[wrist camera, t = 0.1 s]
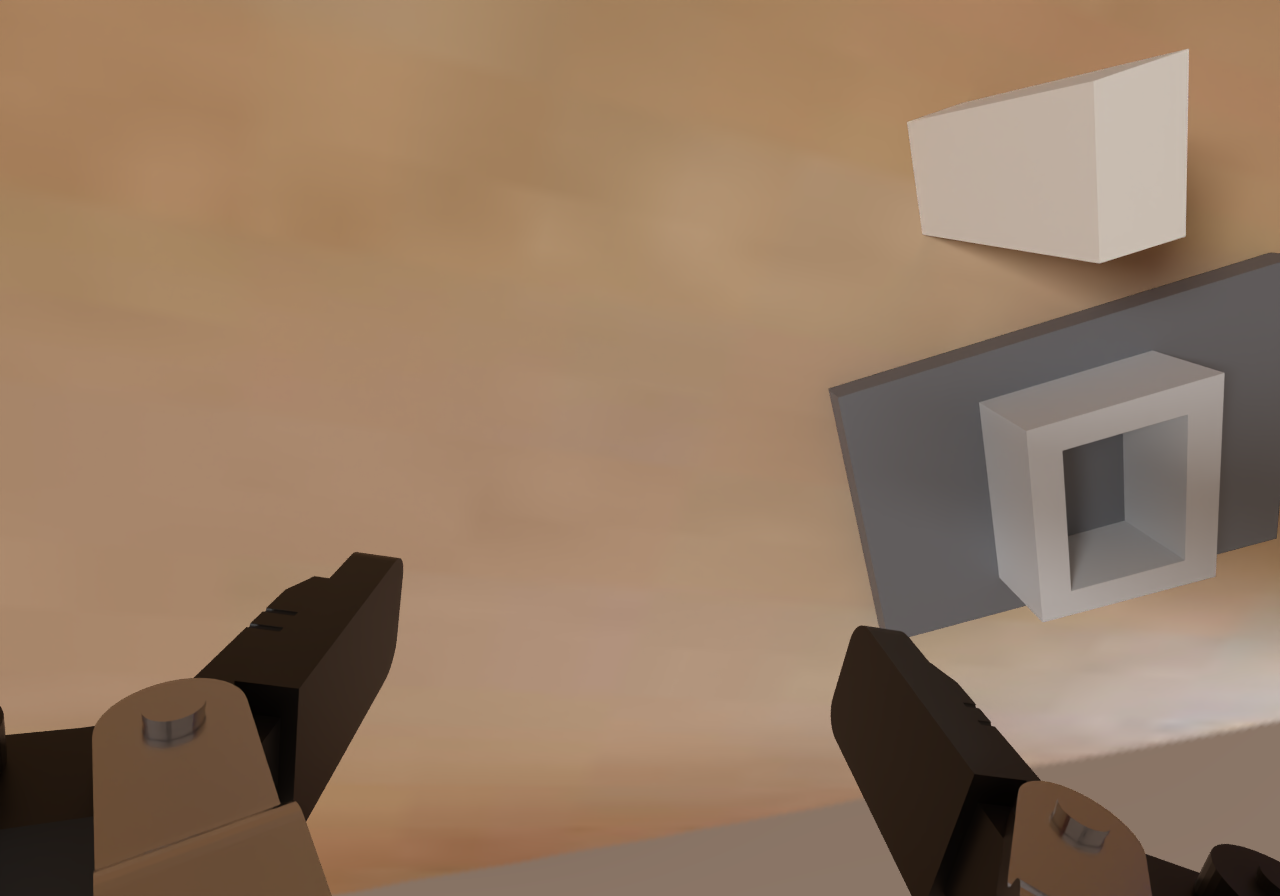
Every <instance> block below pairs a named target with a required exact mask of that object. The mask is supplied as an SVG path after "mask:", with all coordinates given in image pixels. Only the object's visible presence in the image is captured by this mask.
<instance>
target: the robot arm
mask: <svg viewBox="0 0 1280 896" xmlns="http://www.w3.org/2000/svg"><path fill="white" fill-rule="evenodd" d="M402 579H403V562H402V560H401V559H400V558H394V557H387V556H380V555H373V554H366V553H359V552H355V553H353V554H352V555H351V556H350V557H349V558H348V559H347V560H346V561H345V562H344V563H343V565H342V566H341V567H340V568H339V569H338V570H337V571H336V572H335V573H334V574H333V575H332V576H331V577H330V578H323V577H316V576H314V577H312V578H310V579H308V580H305V581H303V582H301V583H299V584H297V585H295V586H292V587H290V588H288V589H286V590H285V591H284V592H283V593H281V594H280V595H279V596H278V597H277V598H276V599H275V600H274V601H273V602H272V603H271V604H270V605H269V606H268V607H267V608H266V611H265V612H262V613H261V614H260V615H259V616H258V617H257V618H256V619H254V620H253V621H252V622H251V624H250V627H249V628H248V627H246V628H245V629H244V630H243V631H242V632H241V633H240V634H239V635H238V636H237V637H236V638H235V639H234V640H233V641H232V642H231V643H230V644H228V645H227V646H226V647H225V648H224V649H223V650H222V651H221V652H220V653H219V654H218V655H217V656H216V657H215V658H214V659H213V660H212V661H211V662H210V663H209V664H208V665H207V666H206V667H205V668H204V669H203V670H201V671H200V672H199V673H198V674H197V675H196V676H195V677H194V678H188V679H179V680H174V681H168V682H164V683H160V684H157V685H154V686H151V687H148V688H145V689H142V690H140V691H138V692H136V693H133V694H131V695H129V696H128V697H126V698H124V699H122V700H120V701H119V702H118V703H116V704H115V705H113V706H112V707H111V708H110V709H108V710H107V711H106V712H105V713H104V714H103V715H102V716H101V718H100V719H99V720H98V722H97V723H96V725H95V726H92V727H84V728H75V729H65V730H54V731H44V732H33V733H23V734H12V735H5V725H4V713H3V711H2V708H1V707H0V896H332V895H331V892H330V889H329V887H328V884H327V881H326V878H325V875H324V872H323V869H322V866H321V864H320V861H319V858H318V855H317V852H316V849H315V846H314V843H313V841H312V838H311V835H310V832H309V829H308V826H307V823H306V821H307V819H308V817H309V816H310V814H311V812H312V810H313V808H314V807H315V805H316V803H317V801H318V799H319V798H320V796H321V794H322V792H323V790H324V789H325V787H326V785H327V783H328V782H329V780H330V778H331V776H332V774H333V773H334V771H335V769H336V767H337V765H338V764H339V762H340V760H341V758H342V756H343V755H344V753H345V751H346V749H347V748H348V746H349V744H350V742H351V740H352V739H353V737H354V735H355V733H356V731H357V730H358V728H359V726H360V724H361V722H362V721H363V719H364V717H365V715H366V714H367V712H368V710H369V708H370V706H371V705H372V703H373V701H374V699H375V697H376V696H377V694H378V692H379V690H380V688H381V687H382V685H383V683H384V681H385V679H386V677H387V675H388V673H389V670H390V667H391V664H392V661H393V657H394V653H395V648H396V641H397V632H398V621H399V610H400V600H401V589H402ZM975 705H976V704H975V703H974V702H973V701H972V699H971V698H970V697H969V696H968V695H967V694H966V692H965V691H964V690H963V689H962V688H961V686H960V685H959V684H958V683H957V682H956V681H954V680H953V679H951V678H950V677H949V676H947V675H946V674H945V673H943V672H942V671H941V670H939V669H938V668H937V667H935V666H934V665H933V664H931V663H930V662H929V661H928V660H927V659H926V658H925V656H924V655H923V654H922V653H921V652H920V650H919V649H918V648H917V647H916V646H915V644H914V643H913V642H912V641H911V639H910V638H909V637H908V636H907V635H906V634H905V633H904V632H902V631H897V630H890V629H883V628H876V627H869V626H859V627H857V628H856V629H855V631H854V632H853V634H852V636H851V639H850V642H849V646H848V649H847V652H846V656H845V659H844V662H843V666H842V669H841V672H840V676H839V679H838V682H837V686H836V689H835V692H834V696H833V700H832V705H831V725H832V730H833V734H834V737H835V739H836V741H837V743H838V745H839V747H840V750H841V752H842V754H843V756H844V758H845V760H846V762H847V764H848V766H849V768H850V770H851V772H852V774H853V776H854V778H855V780H856V782H857V784H858V786H859V789H860V791H861V793H862V795H863V797H864V799H865V801H866V803H867V805H868V807H869V809H870V811H871V813H872V815H873V817H874V819H875V821H876V823H877V825H878V828H879V830H880V832H881V834H882V835H883V838H884V840H885V842H886V844H887V846H888V848H889V850H890V852H891V854H892V856H893V858H894V860H895V862H896V865H897V867H898V869H899V871H900V873H901V875H902V877H903V879H904V881H905V883H906V885H907V887H908V889H909V891H910V893H911V895H912V896H1280V862H1279V861H1277V860H1275V859H1273V858H1271V857H1268V856H1266V855H1264V854H1261V853H1259V852H1257V851H1254V850H1251V849H1248V848H1245V847H1241V846H1236V845H1230V844H1221V845H1217V846H1215V847H1214V848H1213V849H1212V850H1211V852H1210V854H1209V856H1208V858H1207V860H1206V862H1205V864H1204V866H1203V868H1202V870H1201V872H1200V873H1198V872H1195V871H1192V870H1190V869H1187V868H1184V867H1181V866H1178V865H1175V864H1173V863H1170V862H1167V861H1164V860H1161V859H1158V858H1156V857H1153V856H1150V855H1147V854H1145V852H1144V849H1143V847H1142V845H1141V843H1140V842H1139V841H1138V839H1137V838H1136V836H1135V835H1134V834H1133V833H1132V832H1131V831H1130V829H1129V828H1128V827H1127V826H1126V825H1125V824H1124V823H1122V822H1121V821H1120V820H1119V819H1118V818H1117V817H1116V816H1114V815H1113V814H1112V813H1111V812H1110V811H1108V810H1107V809H1105V808H1104V807H1102V806H1101V805H1099V804H1098V803H1096V802H1095V801H1093V800H1091V799H1090V798H1088V797H1086V796H1084V795H1082V794H1080V793H1078V792H1076V791H1074V790H1072V789H1069V788H1067V787H1064V786H1061V785H1058V784H1055V783H1051V782H1045V781H1041V780H1040V779H1039V778H1038V777H1037V775H1036V774H1035V773H1034V772H1033V771H1032V770H1031V768H1030V767H1029V766H1028V765H1027V764H1026V763H1025V761H1024V760H1023V759H1022V758H1021V757H1020V756H1019V754H1018V753H1017V752H1016V751H1015V750H1014V749H1013V747H1012V746H1011V745H1010V744H1009V743H1008V741H1007V740H1006V739H1005V738H1004V737H1003V736H1002V734H1001V733H1000V732H999V731H998V730H997V729H996V727H993V726H991V722H990V720H989V719H988V718H987V717H986V716H985V715H984V713H983V712H982V711H981V710H980V709H979V708H976V707H975Z"/></svg>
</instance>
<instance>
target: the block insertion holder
mask: <svg viewBox="0 0 1280 896" xmlns="http://www.w3.org/2000/svg"><path fill="white" fill-rule="evenodd" d="M829 393H830V398H831V402H832V407H833V412H834V417H835V421H836V426H837V431H838V435H839V440H840V445H841V449H842V454H843V459H844V464H845V468H846V473H847V478H848V482H849V487H850V492H851V496H852V501H853V506H854V510H855V515H856V520H857V525H858V529H859V534H860V539H861V543H862V548H863V553H864V557H865V562H866V567H867V572H868V576H869V581H870V586H871V590H872V595H873V600H874V604H875V609H876V614H877V619H878V623H879V627H880V628H883V629H890V630H897V631H902V632H904V633H905V634H906V635H907V636H908V637H911V636H915V635H918V634H922V633H926V632H930V631H933V630H937V629H941V628H944V627H948V626H952V625H956V624H959V623H963V622H967V621H971V620H974V619H978V618H982V617H985V616H989V615H993V614H997V613H1000V612H1004V611H1008V610H1012V609H1015V608H1019V607H1023V606H1027V607H1028V608H1029V609H1030V610H1031V611H1032V612H1033V613H1034V614H1035V615H1036V616H1037V617H1038V618H1039V619H1040V620H1041V621H1042V622H1046V621H1050V620H1054V619H1058V618H1061V617H1065V616H1069V615H1073V614H1077V613H1080V612H1084V611H1088V610H1092V609H1095V608H1099V607H1103V606H1107V605H1110V604H1114V603H1118V602H1122V601H1126V600H1129V599H1133V598H1137V597H1141V596H1144V595H1148V594H1152V593H1156V592H1159V591H1163V590H1167V589H1171V588H1175V587H1178V586H1182V585H1186V584H1190V583H1193V582H1197V581H1201V580H1205V579H1208V578H1212V577H1216V557H1217V554H1220V553H1224V552H1228V551H1231V550H1235V549H1239V548H1243V547H1246V546H1250V545H1254V544H1257V543H1261V542H1265V541H1269V540H1272V539H1276V538H1277V528H1278V517H1279V505H1280V253H1267V254H1264V255H1261V256H1258V257H1255V258H1251V259H1248V260H1245V261H1242V262H1238V263H1235V264H1232V265H1229V266H1225V267H1222V268H1219V269H1216V270H1212V271H1209V272H1206V273H1203V274H1199V275H1196V276H1193V277H1190V278H1186V279H1183V280H1180V281H1177V282H1173V283H1170V284H1167V285H1164V286H1160V287H1157V288H1154V289H1151V290H1147V291H1144V292H1141V293H1138V294H1134V295H1131V296H1128V297H1125V298H1121V299H1118V300H1115V301H1112V302H1108V303H1105V304H1102V305H1099V306H1095V307H1092V308H1089V309H1086V310H1083V311H1079V312H1076V313H1073V314H1070V315H1066V316H1063V317H1060V318H1057V319H1053V320H1050V321H1047V322H1044V323H1040V324H1037V325H1034V326H1031V327H1027V328H1024V329H1021V330H1018V331H1014V332H1011V333H1008V334H1005V335H1001V336H998V337H995V338H992V339H988V340H985V341H982V342H979V343H975V344H972V345H969V346H966V347H962V348H959V349H956V350H953V351H949V352H946V353H943V354H940V355H936V356H933V357H930V358H927V359H924V360H920V361H917V362H914V363H911V364H907V365H904V366H901V367H898V368H894V369H891V370H888V371H885V372H881V373H878V374H875V375H872V376H868V377H865V378H862V379H859V380H855V381H852V382H849V383H846V384H842V385H839V386H836V387H833V388H829Z"/></svg>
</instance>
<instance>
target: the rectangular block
mask: <svg viewBox="0 0 1280 896" xmlns="http://www.w3.org/2000/svg"><path fill="white" fill-rule="evenodd" d="M1188 72H1189V49H1185V50H1181V51H1177V52H1173V53H1169V54H1165V55H1160V56H1156V57H1152V58H1148V59H1144V60H1139V61H1135V62H1131V63H1127V64H1123V65H1119V66H1114V67H1110V68H1106V69H1102V70H1098V71H1094V72H1089V73H1085V74H1081V75H1077V76H1073V77H1069V78H1064V79H1060V80H1056V81H1052V82H1048V83H1043V84H1039V85H1035V86H1031V87H1027V88H1023V89H1018V90H1014V91H1010V92H1006V93H1002V94H998V95H993V96H989V97H985V98H981V99H977V100H973V101H968V102H964V103H961V104H958V105H955V106H952V107H949V108H946V109H943V110H941V111H938V112H935V113H932V114H929V115H926V116H923V117H920V118H917V119H914V120H911V121H909V122H907V126H908V133H909V140H910V147H911V155H912V162H913V169H914V176H915V184H916V191H917V198H918V205H919V213H920V220H921V227H922V234H923V235H928V236H935V237H941V238H947V239H953V240H959V241H965V242H971V243H977V244H984V245H990V246H996V247H1002V248H1008V249H1014V250H1020V251H1026V252H1032V253H1039V254H1045V255H1051V256H1057V257H1063V258H1069V259H1075V260H1081V261H1088V262H1094V263H1103V262H1106V261H1109V260H1112V259H1115V258H1119V257H1122V256H1125V255H1128V254H1131V253H1135V252H1138V251H1141V250H1144V249H1147V248H1151V247H1154V246H1157V245H1160V244H1163V243H1166V242H1170V241H1173V240H1176V239H1179V238H1182V237H1186V187H1187V129H1188Z"/></svg>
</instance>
